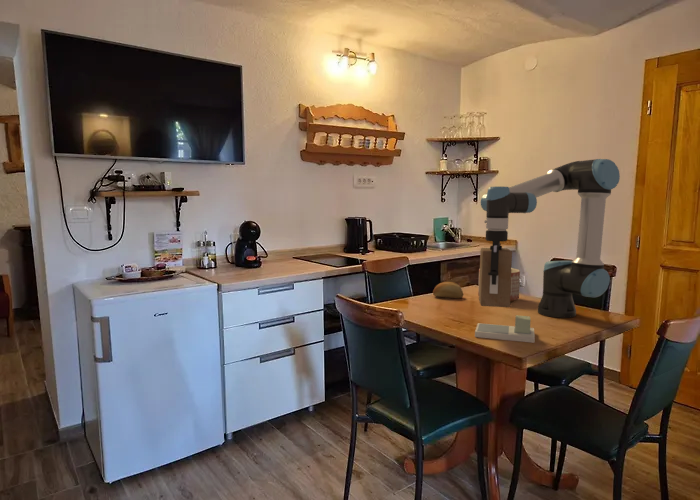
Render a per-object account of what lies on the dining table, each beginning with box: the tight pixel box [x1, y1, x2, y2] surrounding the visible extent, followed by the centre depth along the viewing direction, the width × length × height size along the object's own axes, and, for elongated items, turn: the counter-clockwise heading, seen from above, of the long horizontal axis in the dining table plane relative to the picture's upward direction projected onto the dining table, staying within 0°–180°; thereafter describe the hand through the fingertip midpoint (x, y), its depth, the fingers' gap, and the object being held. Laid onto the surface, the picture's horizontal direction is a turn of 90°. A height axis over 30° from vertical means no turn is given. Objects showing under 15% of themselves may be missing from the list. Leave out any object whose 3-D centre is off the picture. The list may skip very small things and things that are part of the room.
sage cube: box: [514, 314, 532, 334], centre depth 166 cm, size 5×5×5 cm
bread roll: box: [432, 281, 464, 299], centre depth 233 cm, size 10×15×8 cm, turn 75°
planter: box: [477, 267, 521, 303], centre depth 229 cm, size 19×19×15 cm
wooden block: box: [478, 247, 513, 308], centre depth 168 cm, size 10×10×20 cm
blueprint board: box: [474, 322, 536, 344], centre depth 169 cm, size 20×12×2 cm, turn 70°
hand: (494, 290), depth 169 cm, fingers closed on wooden block, 10 cm apart
